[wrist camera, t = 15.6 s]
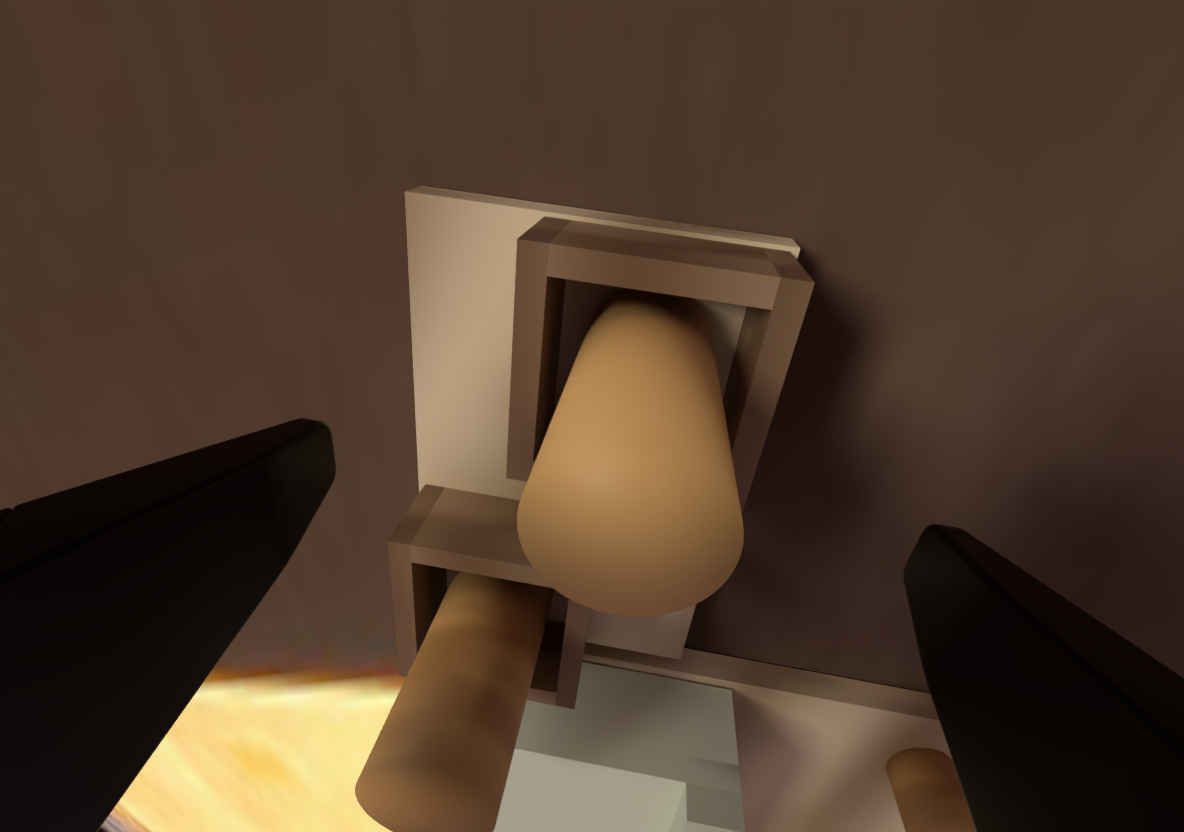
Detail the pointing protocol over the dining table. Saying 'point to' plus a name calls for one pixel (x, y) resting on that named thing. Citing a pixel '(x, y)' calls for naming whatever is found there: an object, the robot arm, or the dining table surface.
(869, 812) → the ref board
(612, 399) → the peg
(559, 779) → the cover
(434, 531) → the board
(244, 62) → the dining table surface
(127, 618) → the robot arm
